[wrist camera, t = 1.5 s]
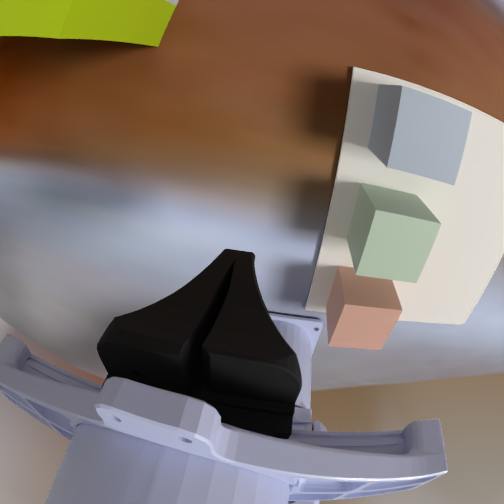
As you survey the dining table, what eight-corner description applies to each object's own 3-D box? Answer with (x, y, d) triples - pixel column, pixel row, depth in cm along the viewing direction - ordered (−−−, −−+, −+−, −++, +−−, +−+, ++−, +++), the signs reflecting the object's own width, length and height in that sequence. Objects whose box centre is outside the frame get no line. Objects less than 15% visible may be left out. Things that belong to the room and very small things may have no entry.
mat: (462, 322, 25) (463, 324, 24) (304, 307, 26) (305, 310, 26) (538, 144, 14) (540, 145, 13) (352, 67, 15) (353, 66, 15)
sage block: (399, 247, 21) (416, 283, 17) (346, 238, 21) (355, 275, 17) (416, 194, 18) (441, 223, 15) (360, 182, 19) (375, 209, 15)
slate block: (425, 162, 17) (454, 185, 13) (367, 148, 17) (386, 167, 14) (438, 103, 15) (472, 112, 11) (378, 84, 15) (402, 85, 11)
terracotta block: (372, 311, 25) (380, 350, 21) (325, 306, 25) (328, 345, 21) (389, 272, 22) (402, 310, 19) (338, 265, 23) (344, 304, 19)
